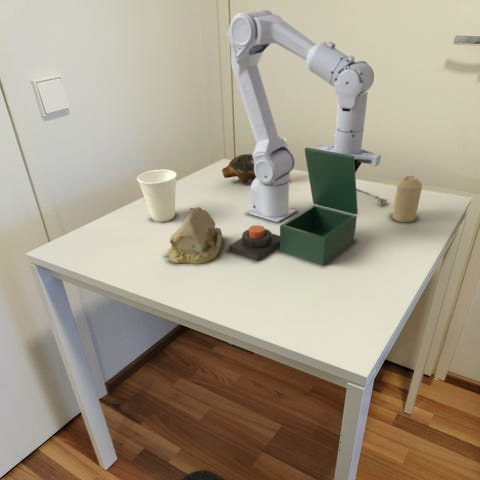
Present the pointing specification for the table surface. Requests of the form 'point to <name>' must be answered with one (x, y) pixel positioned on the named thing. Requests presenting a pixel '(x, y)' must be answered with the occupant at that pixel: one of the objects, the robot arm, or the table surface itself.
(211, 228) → the ceramic model
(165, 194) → the cup
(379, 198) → the soupspoon
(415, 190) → the candle
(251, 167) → the decorative turtle
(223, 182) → the table surface
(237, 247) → the switch block
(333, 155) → the lid
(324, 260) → the box
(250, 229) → the button
